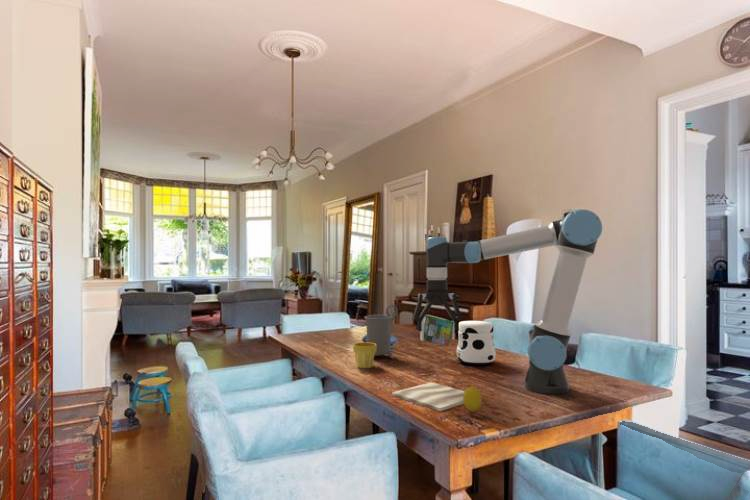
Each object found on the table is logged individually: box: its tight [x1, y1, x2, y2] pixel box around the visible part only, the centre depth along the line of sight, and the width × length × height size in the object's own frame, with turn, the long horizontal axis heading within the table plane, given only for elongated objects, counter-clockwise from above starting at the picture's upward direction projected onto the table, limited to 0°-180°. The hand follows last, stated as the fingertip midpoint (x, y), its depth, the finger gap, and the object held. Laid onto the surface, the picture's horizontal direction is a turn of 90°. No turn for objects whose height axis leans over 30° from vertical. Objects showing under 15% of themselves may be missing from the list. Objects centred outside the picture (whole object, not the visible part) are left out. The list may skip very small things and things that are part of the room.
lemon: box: [463, 385, 483, 413], centre depth 141 cm, size 6×6×8 cm
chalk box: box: [418, 313, 454, 347], centre depth 168 cm, size 9×9×15 cm
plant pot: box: [352, 341, 377, 369], centre depth 201 cm, size 10×10×10 cm
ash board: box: [391, 381, 465, 412], centre depth 157 cm, size 22×20×1 cm
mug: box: [363, 304, 398, 360], centre depth 221 cm, size 19×15×25 cm
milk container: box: [456, 320, 497, 366], centre depth 208 cm, size 17×17×18 cm
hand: (437, 339), depth 167 cm, fingers closed on chalk box, 11 cm apart
